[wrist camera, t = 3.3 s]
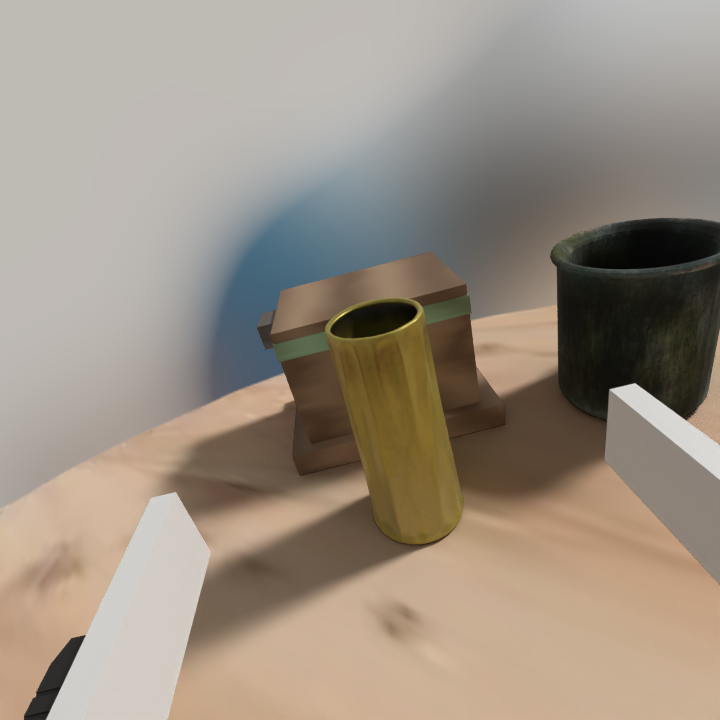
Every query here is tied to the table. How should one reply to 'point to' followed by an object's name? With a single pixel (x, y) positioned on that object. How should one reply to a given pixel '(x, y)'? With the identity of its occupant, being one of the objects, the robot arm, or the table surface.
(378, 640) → the table surface
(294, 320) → the stand
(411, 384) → the vase
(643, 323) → the mug
